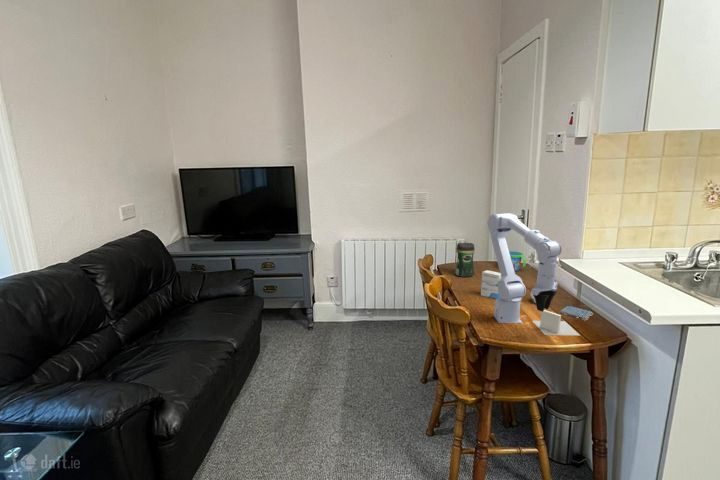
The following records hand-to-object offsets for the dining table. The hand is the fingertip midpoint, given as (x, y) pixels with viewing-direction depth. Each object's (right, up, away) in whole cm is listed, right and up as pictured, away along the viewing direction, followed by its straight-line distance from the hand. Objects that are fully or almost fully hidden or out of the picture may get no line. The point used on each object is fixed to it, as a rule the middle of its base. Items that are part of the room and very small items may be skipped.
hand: (542, 309), depth 148 cm
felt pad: (+8, -9, +8) cm, 15 cm away
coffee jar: (-9, +6, +76) cm, 77 cm away
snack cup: (+21, +8, +87) cm, 90 cm away
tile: (+5, -9, +6) cm, 12 cm away
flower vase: (+15, -3, +36) cm, 39 cm away
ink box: (-5, -1, +44) cm, 44 cm away
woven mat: (+24, -7, +22) cm, 33 cm away
